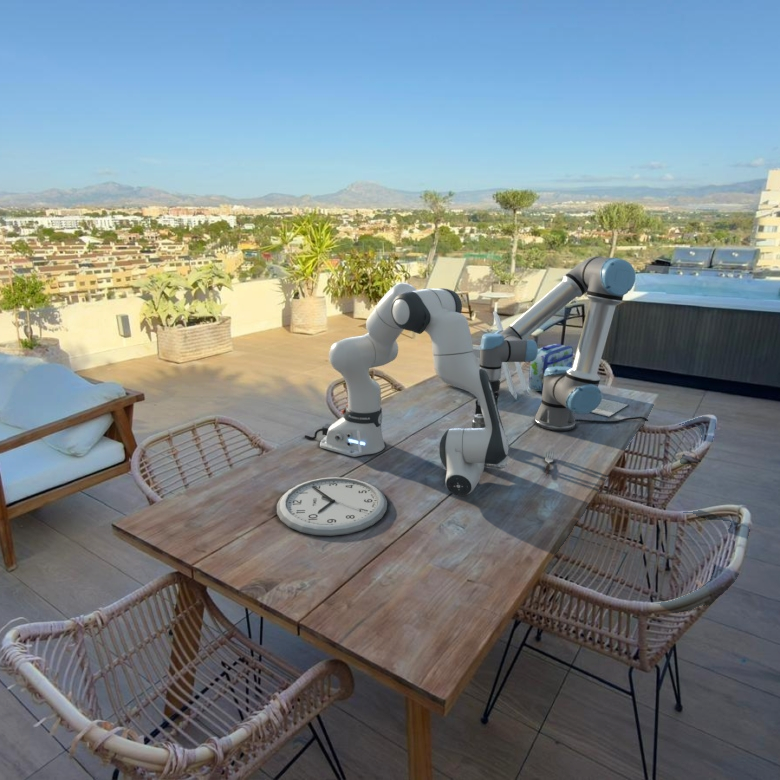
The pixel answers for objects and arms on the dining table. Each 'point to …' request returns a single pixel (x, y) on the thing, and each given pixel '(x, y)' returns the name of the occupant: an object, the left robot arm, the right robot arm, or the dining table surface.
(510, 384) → the white plastic object
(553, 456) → the fork
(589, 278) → the right robot arm
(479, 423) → the grey cylinder
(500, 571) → the dining table surface
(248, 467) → the dining table surface
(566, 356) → the lunch box
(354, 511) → the wall clock
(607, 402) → the invitation card
